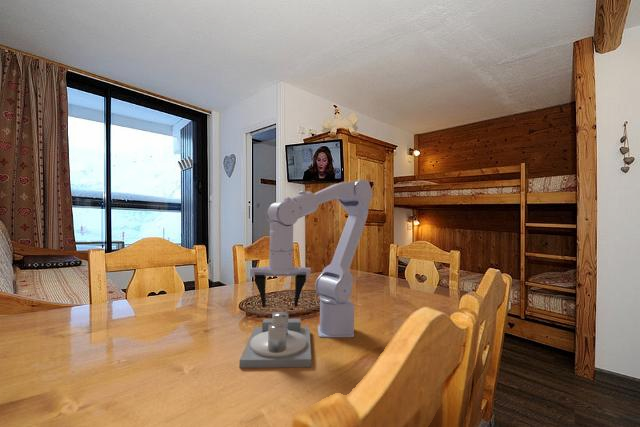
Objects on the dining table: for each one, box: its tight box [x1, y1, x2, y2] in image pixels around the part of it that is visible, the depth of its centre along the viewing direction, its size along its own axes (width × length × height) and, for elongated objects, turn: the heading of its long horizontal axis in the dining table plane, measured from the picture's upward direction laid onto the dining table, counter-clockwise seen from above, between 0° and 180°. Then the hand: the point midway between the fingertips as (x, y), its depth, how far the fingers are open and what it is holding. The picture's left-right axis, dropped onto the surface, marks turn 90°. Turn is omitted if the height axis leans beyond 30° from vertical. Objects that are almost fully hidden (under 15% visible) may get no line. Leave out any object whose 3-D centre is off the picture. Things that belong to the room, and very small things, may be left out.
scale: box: [238, 318, 312, 369], centre depth 71 cm, size 15×19×4 cm
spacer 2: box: [268, 323, 287, 353], centre depth 64 cm, size 4×4×5 cm
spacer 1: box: [271, 311, 289, 336], centre depth 72 cm, size 4×4×5 cm
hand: (279, 305), depth 71 cm, fingers open, 7 cm apart
